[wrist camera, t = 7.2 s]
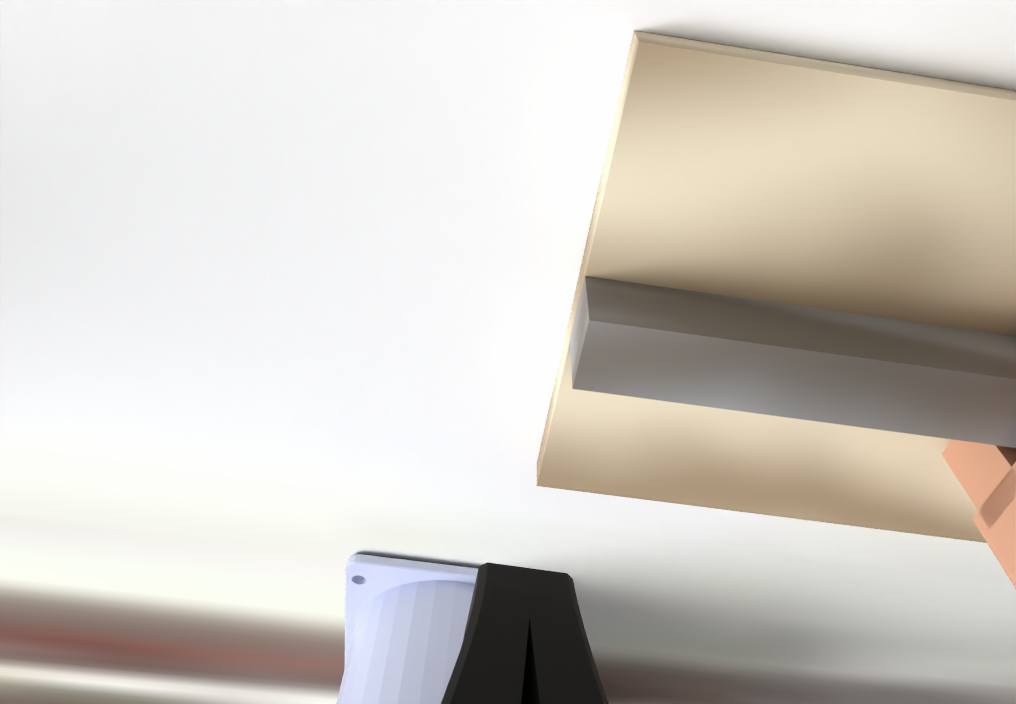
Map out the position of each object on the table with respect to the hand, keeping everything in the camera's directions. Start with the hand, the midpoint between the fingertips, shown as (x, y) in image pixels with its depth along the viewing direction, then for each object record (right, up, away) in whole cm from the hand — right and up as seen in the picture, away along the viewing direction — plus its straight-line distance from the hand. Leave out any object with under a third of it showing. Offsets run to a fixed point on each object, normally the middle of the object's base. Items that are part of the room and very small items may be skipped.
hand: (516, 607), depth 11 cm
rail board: (+11, +4, +9) cm, 14 cm away
